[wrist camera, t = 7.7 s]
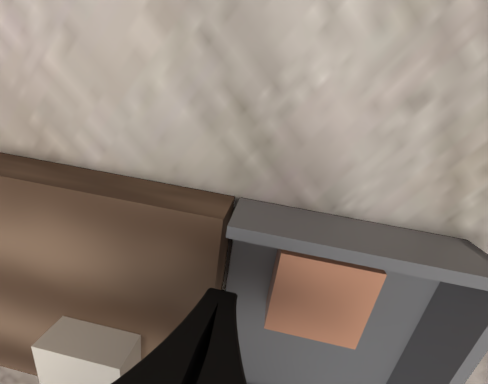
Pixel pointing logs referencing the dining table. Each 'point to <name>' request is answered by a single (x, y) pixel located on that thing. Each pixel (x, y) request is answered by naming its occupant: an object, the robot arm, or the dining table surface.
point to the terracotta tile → (321, 298)
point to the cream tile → (84, 353)
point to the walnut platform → (102, 253)
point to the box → (385, 308)
